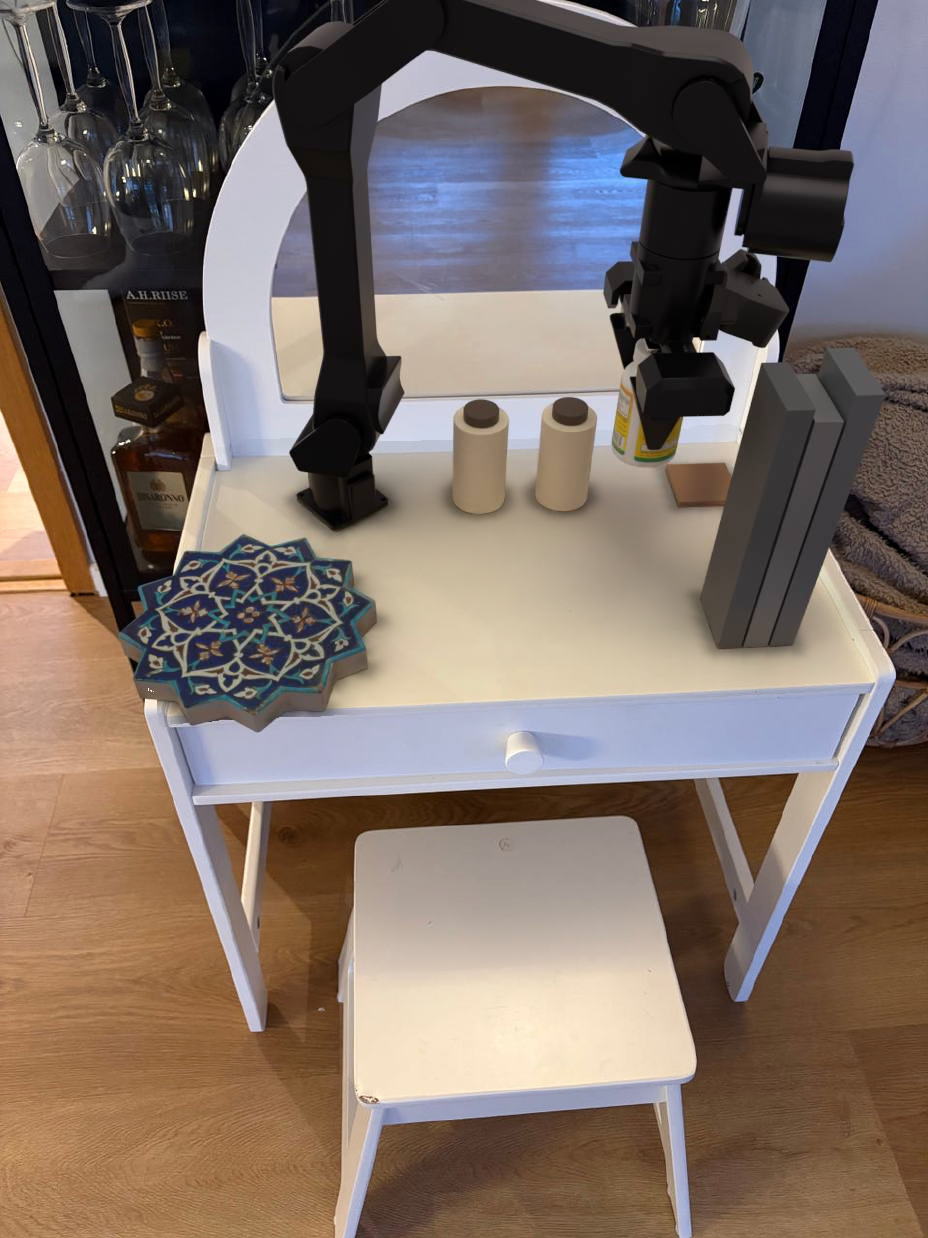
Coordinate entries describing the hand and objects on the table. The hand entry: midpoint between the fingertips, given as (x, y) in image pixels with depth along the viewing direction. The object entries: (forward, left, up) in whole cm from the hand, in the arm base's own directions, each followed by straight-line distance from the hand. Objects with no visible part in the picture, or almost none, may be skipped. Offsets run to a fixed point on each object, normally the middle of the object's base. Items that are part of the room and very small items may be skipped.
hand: (647, 428), depth 80 cm
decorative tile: (-12, -32, -13) cm, 37 cm away
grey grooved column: (+13, +1, -13) cm, 18 cm away
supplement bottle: (0, 0, -2) cm, 2 cm away
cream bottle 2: (-9, +1, -13) cm, 16 cm away
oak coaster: (-2, +13, -13) cm, 18 cm away
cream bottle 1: (-14, -5, -13) cm, 20 cm away
